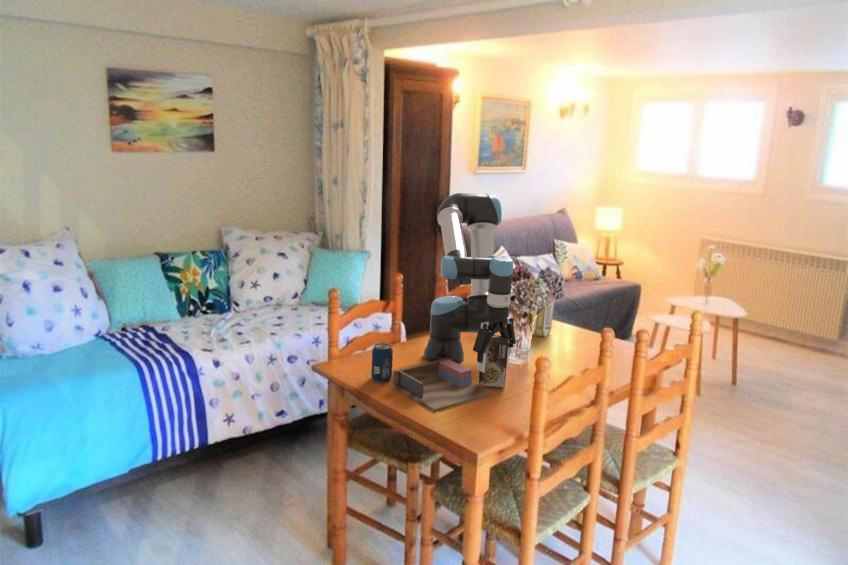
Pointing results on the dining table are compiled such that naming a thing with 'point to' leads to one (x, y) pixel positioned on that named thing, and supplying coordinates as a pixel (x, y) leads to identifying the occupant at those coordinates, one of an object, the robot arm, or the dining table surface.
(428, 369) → the book stand
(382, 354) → the soda can
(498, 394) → the dining table surface
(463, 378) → the books
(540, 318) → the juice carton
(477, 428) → the dining table surface
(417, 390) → the grey upright panel
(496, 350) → the coffee box
